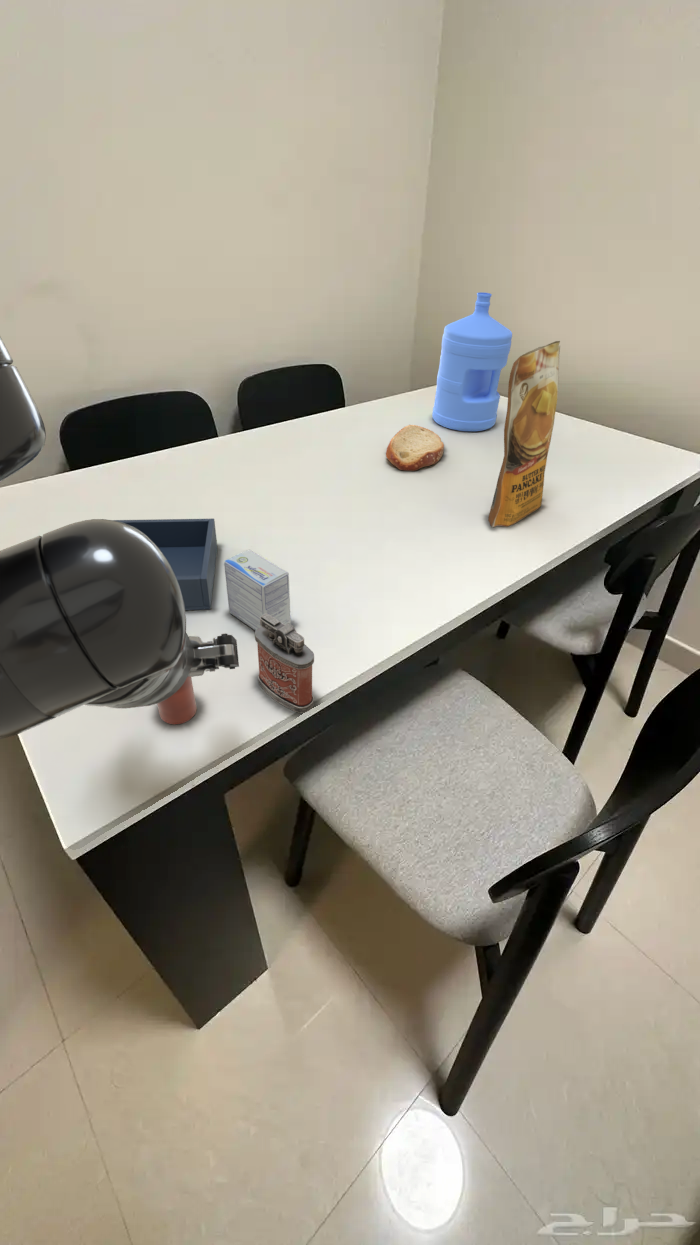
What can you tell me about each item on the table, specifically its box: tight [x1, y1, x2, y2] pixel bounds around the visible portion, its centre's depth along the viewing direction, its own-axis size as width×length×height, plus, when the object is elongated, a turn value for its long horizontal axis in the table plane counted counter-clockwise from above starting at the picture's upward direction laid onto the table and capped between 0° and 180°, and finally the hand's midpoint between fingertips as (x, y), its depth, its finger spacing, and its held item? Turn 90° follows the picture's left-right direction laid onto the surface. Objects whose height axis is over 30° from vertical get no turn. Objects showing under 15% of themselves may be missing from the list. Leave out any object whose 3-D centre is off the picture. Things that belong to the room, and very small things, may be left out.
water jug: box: [432, 292, 513, 432], centre depth 136 cm, size 16×16×28 cm
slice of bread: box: [385, 424, 445, 472], centre depth 126 cm, size 18×18×4 cm
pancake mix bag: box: [487, 340, 561, 528], centre depth 98 cm, size 7×19×28 cm, turn 137°
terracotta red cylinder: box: [157, 677, 197, 725], centre depth 62 cm, size 4×4×9 cm
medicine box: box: [223, 549, 292, 631], centre depth 76 cm, size 8×4×9 cm, turn 47°
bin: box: [113, 518, 218, 611], centre depth 83 cm, size 17×17×5 cm
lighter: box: [254, 614, 315, 714], centre depth 65 cm, size 8×3×10 cm, turn 49°
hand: (163, 664), depth 56 cm, fingers open, 8 cm apart
